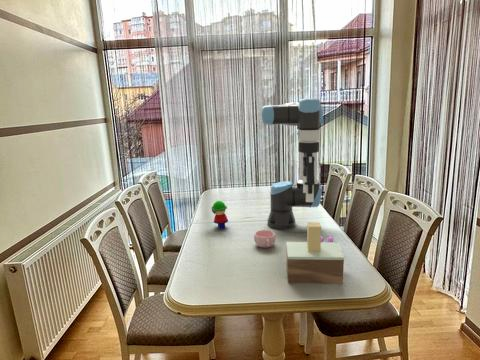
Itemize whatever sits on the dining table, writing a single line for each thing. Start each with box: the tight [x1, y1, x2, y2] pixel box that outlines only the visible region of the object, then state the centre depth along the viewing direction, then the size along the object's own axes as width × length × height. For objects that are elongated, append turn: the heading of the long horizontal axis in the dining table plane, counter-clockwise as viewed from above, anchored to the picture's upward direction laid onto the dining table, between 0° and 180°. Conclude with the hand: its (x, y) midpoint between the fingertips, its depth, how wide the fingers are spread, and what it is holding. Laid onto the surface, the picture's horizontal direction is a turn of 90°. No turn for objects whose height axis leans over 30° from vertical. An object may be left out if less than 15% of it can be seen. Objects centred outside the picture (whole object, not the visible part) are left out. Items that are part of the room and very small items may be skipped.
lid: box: [286, 221, 345, 261], centre depth 127 cm, size 13×20×12 cm, turn 84°
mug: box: [253, 229, 277, 249], centre depth 156 cm, size 12×10×6 cm
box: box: [286, 255, 345, 285], centre depth 129 cm, size 13×20×10 cm, turn 84°
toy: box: [211, 200, 229, 230], centre depth 180 cm, size 9×9×15 cm
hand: (308, 197), depth 129 cm, fingers open, 13 cm apart
